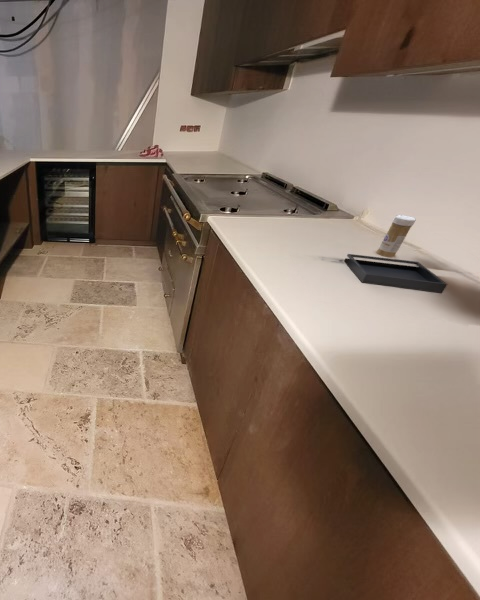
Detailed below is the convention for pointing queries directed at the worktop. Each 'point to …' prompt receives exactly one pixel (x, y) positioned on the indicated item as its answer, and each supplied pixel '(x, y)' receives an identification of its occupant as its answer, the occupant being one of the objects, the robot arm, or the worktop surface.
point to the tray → (395, 274)
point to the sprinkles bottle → (395, 235)
